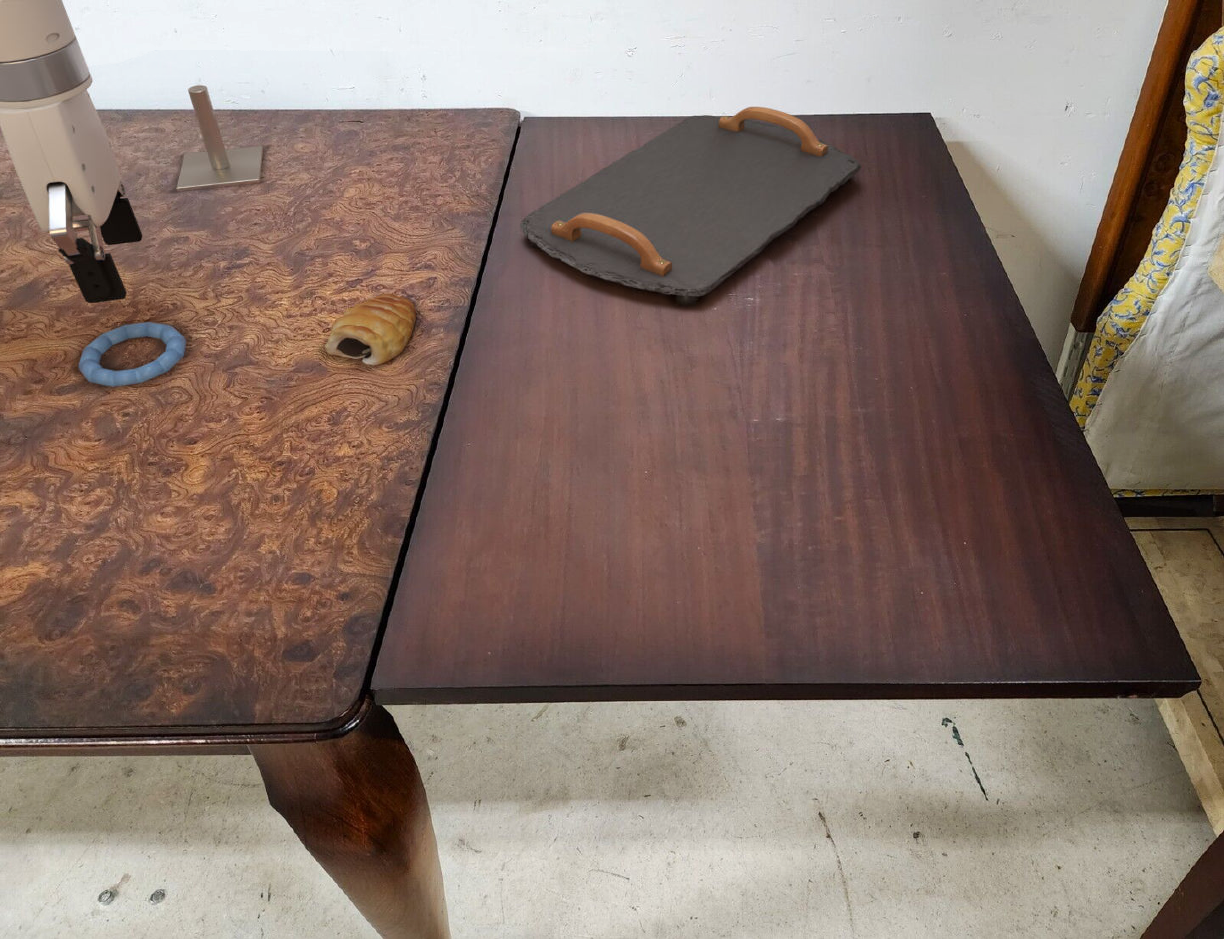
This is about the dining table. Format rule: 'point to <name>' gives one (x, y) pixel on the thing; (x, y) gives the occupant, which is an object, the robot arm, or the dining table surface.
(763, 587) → the dining table surface
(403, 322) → the pastry
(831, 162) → the serving tray
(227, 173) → the peg on square base
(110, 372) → the ring
